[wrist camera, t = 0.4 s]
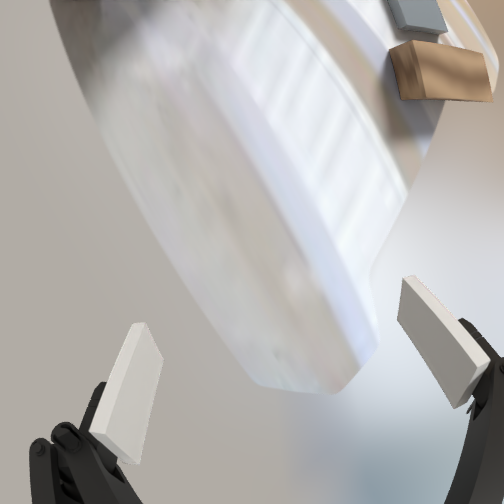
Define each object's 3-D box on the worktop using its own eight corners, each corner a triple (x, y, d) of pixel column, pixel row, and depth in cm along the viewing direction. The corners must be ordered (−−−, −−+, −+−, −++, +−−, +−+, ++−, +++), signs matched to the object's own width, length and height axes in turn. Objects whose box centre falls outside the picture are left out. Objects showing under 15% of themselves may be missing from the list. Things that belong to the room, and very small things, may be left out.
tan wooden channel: (388, 49, 29) (412, 40, 23) (457, 57, 28) (482, 53, 22) (401, 99, 32) (426, 97, 26) (467, 101, 32) (493, 102, 25)
